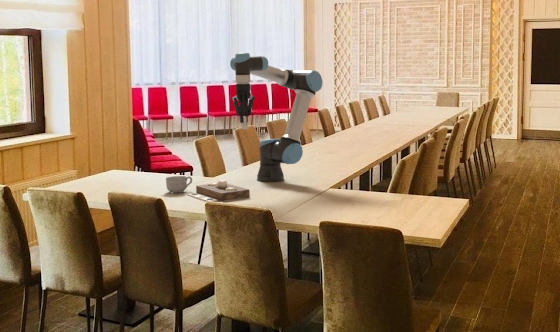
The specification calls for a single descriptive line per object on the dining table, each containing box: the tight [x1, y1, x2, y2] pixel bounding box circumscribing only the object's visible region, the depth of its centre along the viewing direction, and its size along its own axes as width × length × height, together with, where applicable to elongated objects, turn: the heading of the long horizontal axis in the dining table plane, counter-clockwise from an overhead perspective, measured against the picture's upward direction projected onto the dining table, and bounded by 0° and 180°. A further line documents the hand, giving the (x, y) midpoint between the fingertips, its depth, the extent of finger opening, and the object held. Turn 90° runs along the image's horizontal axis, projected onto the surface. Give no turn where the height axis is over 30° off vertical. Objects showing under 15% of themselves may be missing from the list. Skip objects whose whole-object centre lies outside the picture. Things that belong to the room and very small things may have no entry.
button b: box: [217, 179, 228, 188], centre depth 368 cm, size 5×5×3 cm
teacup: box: [165, 175, 193, 194], centre depth 379 cm, size 14×11×8 cm
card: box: [187, 192, 219, 202], centre depth 362 cm, size 5×22×1 cm, turn 34°
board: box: [195, 182, 251, 202], centre depth 368 cm, size 16×26×4 cm, turn 34°
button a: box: [209, 182, 218, 187], centre depth 375 cm, size 5×5×3 cm
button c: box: [226, 187, 235, 191], centre depth 362 cm, size 5×5×3 cm
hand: (244, 129), depth 378 cm, fingers closed
